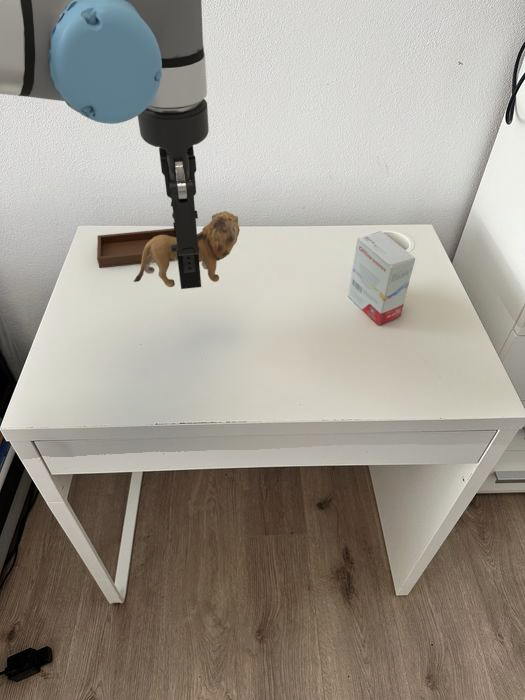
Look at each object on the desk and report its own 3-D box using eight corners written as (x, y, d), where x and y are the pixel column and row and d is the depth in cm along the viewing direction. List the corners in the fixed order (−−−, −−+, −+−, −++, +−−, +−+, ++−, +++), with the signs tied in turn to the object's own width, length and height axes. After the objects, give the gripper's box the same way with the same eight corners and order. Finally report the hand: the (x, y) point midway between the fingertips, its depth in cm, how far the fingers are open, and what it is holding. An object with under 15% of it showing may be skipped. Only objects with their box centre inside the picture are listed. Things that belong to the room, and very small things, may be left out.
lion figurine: (233, 253, 77) (233, 199, 70) (244, 277, 74) (245, 224, 67) (130, 272, 73) (120, 218, 67) (138, 299, 70) (127, 245, 63)
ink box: (401, 317, 87) (418, 257, 78) (377, 326, 85) (392, 267, 77) (369, 287, 92) (382, 228, 84) (346, 296, 90) (356, 237, 82)
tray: (99, 267, 95) (97, 258, 93) (99, 244, 99) (97, 235, 98) (185, 258, 97) (184, 249, 95) (181, 236, 102) (180, 227, 100)
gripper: (134, 71, 62) (158, 240, 79) (136, 138, 50) (165, 320, 67) (198, 68, 63) (209, 235, 80) (216, 133, 51) (224, 314, 68)
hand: (189, 274), depth 73 cm, fingers closed on lion figurine, 4 cm apart
